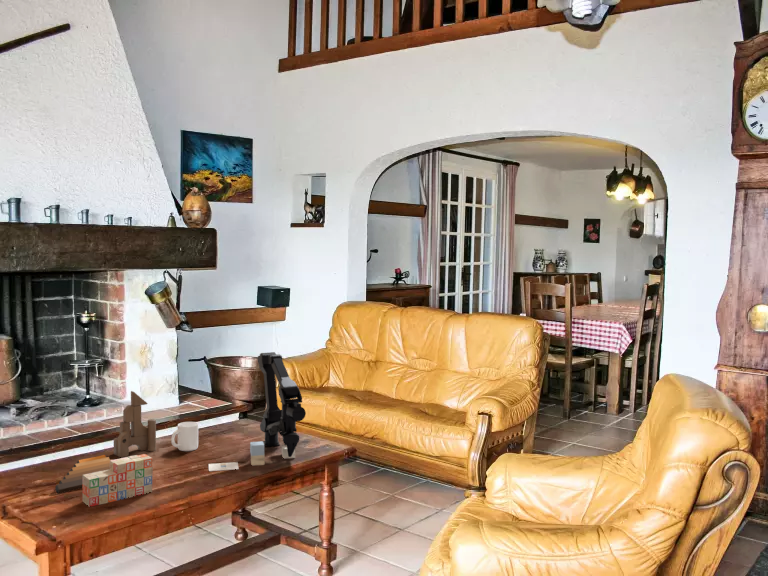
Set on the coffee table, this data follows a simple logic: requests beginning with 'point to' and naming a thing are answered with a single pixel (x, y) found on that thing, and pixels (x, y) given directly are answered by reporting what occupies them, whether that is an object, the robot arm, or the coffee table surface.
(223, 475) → the coffee table surface
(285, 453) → the cream brick
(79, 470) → the pan flute
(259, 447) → the blue brick
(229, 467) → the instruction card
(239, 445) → the coffee table surface
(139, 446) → the wooden toy
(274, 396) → the robot arm
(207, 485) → the coffee table surface
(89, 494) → the stack of blocks
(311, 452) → the coffee table surface
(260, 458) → the beech brick
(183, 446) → the mug
